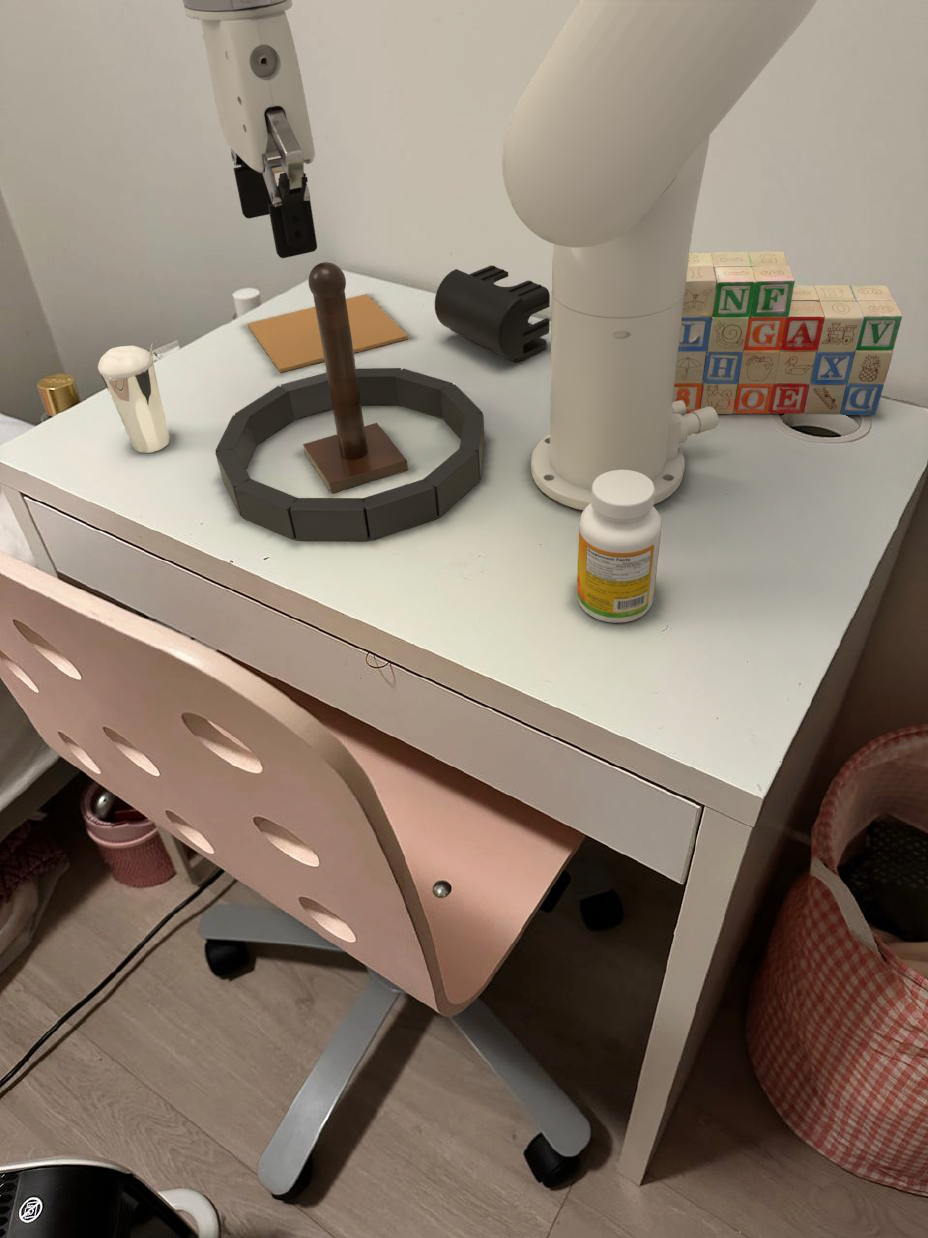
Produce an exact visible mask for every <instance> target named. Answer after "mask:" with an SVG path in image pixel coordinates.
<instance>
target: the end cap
mask: <svg viewBox="0 0 928 1238" xmlns="http://www.w3.org/2000/svg"><path fill="white" fill-rule="evenodd" d="M506 278H509V271H507V270H505V269H503V268H500V267H497V266H496V265H492V264H491V265H488V266H486V267H483V268H480V269H478V270H476V271H473V272H470V273H466V272H464V271H462V270H459V269H457V268H455V269H453V270H451V271H450V272H449V273H447V274H446V275H445V276H444V278H443V279H442V281H441V282H440V283H439V285H438V287H437V290H436V293H435V295H434V296H435V297H434V312H435V315H436V318H437V320H438V321H439V323H440V324H441V325H442V326H444V327H445V328H447V329H449V330H450V331H451V332H453V333H455V334H457V335H460V336H461V337H463V338H465V339H468V340H470V341H471V342H474V343H476V344H477V345H480V346H482V347H484V348H485V349H487V350H490V351H491V352H494V353H496V354H498V355H500V356H502V357H504V358H506V359H508V360H510V361H512V362H521V361H524V360H526V359H528V358H530V357H532V356H534V355H536V354H538V353H540V352H542V351H545V350H546V349H547V348H548V341H547V340H546V339H544V338H542V337H544V336H547V335H548V334H549V333H550V323H551V318H548V317H545V318H544V319H541V320H539V321H536V322H534V323H531V322H529V320H530V318H531V317H532V316H533V315H535V314H537V313H539V312H542V311H543V310H546V309H548V308H550V307H551V306H550V305H551V304H550V301H551V296H550V295H551V293H550V291H549V289H548V288H547V287H545V286H544V285H542V284H539V283H536V282H533V281H532V280H526V281H524V282H521V283H518V284H515V285H511V286H501V285H497V284H496V283H497V282H499V281H501V280H503V279H506Z"/></svg>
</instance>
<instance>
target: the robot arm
mask: <svg viewBox="0 0 928 1238" xmlns="http://www.w3.org/2000/svg"><path fill="white" fill-rule="evenodd" d="M817 1H818V0H578V2H577V4H576V5H575V7H574V9H573V10H572V12H571V14H570V15H569V17H568V18H567V20H566V22H565V24H564V25H563V27H562V28H561V30H560V31H559V33H558V35H557V37H556V38H555V40H554V41H553V43H552V44H551V46H550V48H549V50H548V51H547V53H546V55H545V56H544V58H543V60H542V61H541V63H540V65H539V66H538V68H537V69H536V71H535V72H534V74H533V76H532V78H530V79H531V80H530V81H529V83H528V85H527V86H526V87H525V89H524V91H523V93H522V95H521V96H520V98H519V100H518V102H517V103H516V106H515V108H514V110H513V112H512V114H511V116H510V118H509V122H508V125H507V126H506V127H507V128H506V132H505V135H504V139H503V145H502V154H501V156H502V157H501V162H502V163H501V165H502V176H503V183H504V187H505V188H504V189H505V191H506V195H507V197H508V200H509V202H510V204H511V207H512V208H513V210H514V212H515V214H516V216H517V217H518V218H519V220H520V221H521V222H522V224H524V226H525V227H526V228H527V229H528V230H529V231H530V232H531V233H533V234H534V235H536V237H538V238H540V239H542V240H544V241H545V242H548V243H550V244H553V245H552V260H551V262H552V264H551V266H552V267H551V268H552V269H551V274H552V275H551V304H550V305H551V306H550V307H551V308H550V311H551V315H550V316H551V317H550V323H551V324H550V401H549V403H550V405H549V407H550V408H549V409H550V410H549V414H550V417H549V433H548V434H547V435H545V436H544V437H543V438H541V439H540V440H539V441H538V443H537V444H536V446H535V447H534V449H533V451H532V453H531V458H530V459H531V461H530V466H531V467H530V470H531V476H532V479H533V481H534V483H535V485H536V486H537V487H538V489H540V490H541V492H542V493H544V494H545V495H546V496H548V497H549V498H550V499H552V500H554V501H555V502H557V503H560V504H561V505H564V506H566V507H570V508H573V509H575V510H579V511H584V509H585V508H586V507H587V506H588V505H589V504H590V503H591V495H592V485H593V483H594V481H595V479H596V478H597V477H599V476H600V475H602V474H604V473H606V472H609V471H614V470H631V471H636V472H639V473H641V474H644V475H645V476H647V477H648V478H649V479H650V480H651V481H652V482H653V484H654V488H655V491H654V505H657V504H659V503H661V502H663V501H665V500H666V499H667V498H669V497H670V496H672V495H673V494H674V492H676V490H677V489H679V487H680V486H681V483H682V482H683V479H684V472H685V457H684V454H683V451H682V449H681V448H680V447H679V445H681V444H683V443H685V442H686V441H687V440H688V437H689V436H693V435H698V434H703V433H705V432H707V431H711V430H714V429H716V428H717V427H718V425H719V416H718V415H719V414H717V413H716V411H715V409H714V408H713V407H710V406H708V407H704V408H701V409H698V410H695V411H692V412H690V413H686V405H685V403H684V402H683V401H681V400H679V401H675V402H672V400H673V391H674V382H675V373H676V364H677V355H678V346H679V337H680V329H681V320H682V311H683V302H684V294H685V288H686V279H687V270H688V262H689V254H690V253H691V245H692V239H693V231H694V224H695V219H696V213H697V207H698V202H699V197H700V191H701V187H702V181H703V176H704V172H705V165H706V160H707V156H708V150H709V144H710V137H711V134H712V133H713V132H714V131H715V129H716V128H717V127H718V126H719V124H721V122H722V121H723V119H725V117H726V116H727V115H728V114H729V112H730V111H731V110H732V108H733V107H734V106H735V105H736V104H737V103H738V101H739V100H740V99H741V98H742V96H743V95H744V94H745V92H746V91H747V90H748V89H749V87H750V86H751V85H752V84H753V83H754V81H755V80H756V79H757V78H758V76H759V75H760V74H761V73H762V72H763V70H764V69H765V68H766V67H767V65H768V64H769V63H770V62H771V60H772V59H773V58H774V57H775V56H776V54H777V53H778V52H779V50H781V48H782V47H783V46H784V45H785V43H787V41H789V39H790V38H791V36H793V34H794V33H795V32H796V31H797V29H798V28H799V27H800V25H801V24H802V23H803V22H804V21H805V19H806V18H807V16H808V15H809V14H810V12H811V11H812V9H813V7H814V6H815V4H816V3H817ZM182 3H183V9H184V13H185V16H187V17H188V18H190V19H193V20H195V19H196V20H199V21H200V22H201V23H200V24H201V28H202V39H203V40H204V47H205V52H206V53H205V54H206V58H207V65H208V70H209V75H210V81H211V85H212V90H213V96H214V101H215V105H216V111H217V113H218V119H219V122H220V126H221V130H222V133H223V136H224V139H225V141H226V143H227V145H228V146H229V148H230V155H231V159H232V160H231V161H232V163H233V166H234V167H233V173H234V178H235V183H236V189H237V193H238V199H239V203H240V207H241V213H242V215H243V217H245V218H246V219H248V220H249V219H253V218H258V217H263V216H269V219H270V224H271V225H270V226H271V230H272V235H273V241H274V246H275V252H276V255H278V257H279V258H280V259H287V258H291V257H295V256H300V255H304V254H309V253H314V252H316V251H317V249H318V241H317V235H316V230H315V223H314V222H315V221H314V216H313V208H312V203H311V194H310V189H309V186H308V182H309V181H308V180H309V179H308V177H307V174H306V172H304V171H305V169H304V168H305V166H304V164H305V165H310V164H312V163H313V162H314V159H315V158H316V151H315V143H314V139H313V133H312V128H311V127H312V126H311V122H310V117H309V111H308V106H307V101H306V95H305V90H304V85H303V79H302V74H301V69H300V64H299V60H298V55H297V50H296V46H295V42H294V38H293V37H294V36H293V33H292V30H291V25H290V22H289V19H288V15H287V13H286V11H288V10H289V9H291V8H292V7H293V0H182ZM276 157H277V158H276ZM275 174H279V176H278V177H279V178H278V181H276V175H275ZM277 182H278V183H277Z"/></svg>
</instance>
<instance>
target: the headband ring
mask: <svg viewBox="0 0 928 1238" xmlns="http://www.w3.org/2000/svg"><path fill="white" fill-rule="evenodd" d="M356 372H357V379H358V385H359V392H360V399H361V406H401V407H404V408H407V409H411V410H414V411H418V412H420V413H423V414H426V415H429V416H432V417H435V418H439V419H442V420H443V421H444V423H446V424H447V425H448V426H449V428H450V429H451V430H452V431H453V432H454V433H455V434H456V435H457V437H458V438H459V439H460V445H459V448H458V449H457V450H456V451H455V452H453V454H451V455H450V456H449V457H448V458H447V459H445V460H444V461H443V462H442V463H441V464H439V465H438V466H437V467H436V468H435V469H434V470H432V471H431V472H430V473H429V474H427V475H426V476H425V477H424V478H422V479H419V480H416V481H414V482H409V483H407V484H404V485H400V486H397V487H395V488H391V489H387V490H384V491H381V492H378V493H375V494H371V495H368V496H366V497H297V496H294V495H292V494H290V493H287V492H285V491H282V490H279V489H277V488H275V487H272V486H271V485H267V484H264V483H262V482H260V481H257V480H254V479H252V478H251V477H250V475H249V473H248V471H247V468H248V466H249V463H250V462H251V459H252V457H253V454H254V452H255V450H256V448H257V446H258V445H260V444H261V443H262V442H264V441H266V439H268V438H270V437H271V436H272V435H274V434H276V433H277V432H279V431H280V430H281V429H283V428H284V427H286V426H287V425H289V424H290V423H292V422H293V421H295V420H298V419H302V418H306V417H309V416H312V415H315V414H319V413H322V412H326V411H329V410H330V411H331V410H333V408H332V402H331V396H330V390H329V385H328V379H327V373H326V372H322V373H318V374H315V375H312V376H308V377H305V378H304V377H303V378H300V379H297V380H293V381H289V382H285V383H282V384H280V385H277V386H276V387H273V388H272V389H271V390H269V391H268V392H266V393H264V394H263V395H262V396H260V397H259V398H257V399H255V400H253V401H252V402H251V403H249V404H247V405H246V406H244V407H243V408H241V409H240V410H238V411H236V412H235V413H234V414H233V415H232V416H231V418H230V420H229V423H228V424H227V426H226V428H225V430H224V432H223V433H222V434H223V435H222V436H221V438H220V441H219V442H218V444H217V446H216V448H215V450H214V452H215V457H216V461H217V464H218V467H219V471H220V476H221V478H222V482H223V484H224V486H225V488H226V490H227V492H228V495H229V496H230V498H231V500H232V502H233V504H234V506H235V508H236V510H237V512H238V514H239V516H240V517H242V519H244V520H246V521H248V522H251V523H253V524H255V525H258V526H260V527H263V528H266V529H268V530H270V531H272V532H274V533H277V534H279V535H282V536H284V537H287V538H288V539H291V540H294V541H295V540H296V541H313V542H314V541H315V542H317V541H318V542H319V541H321V542H322V541H326V542H327V541H328V542H330V541H331V542H334V541H335V542H338V541H339V542H340V541H341V542H368V541H369V539H370V540H371V541H373V540H376V539H379V538H382V537H386V536H389V535H392V534H395V533H398V532H401V531H404V530H407V529H410V528H413V527H416V526H420V525H422V524H426V523H428V522H431V521H434V520H437V519H438V518H441V517H442V516H443V515H444V514H445V513H447V511H448V510H450V509H451V508H452V507H453V506H454V505H455V504H456V503H458V502H459V501H460V500H461V499H462V498H463V497H465V496H466V495H467V494H468V493H469V492H470V491H471V490H472V489H473V488H475V486H477V485H478V484H479V483H480V481H481V479H482V472H483V471H482V470H483V462H484V461H483V460H484V454H485V453H484V452H485V446H486V445H485V444H486V440H485V439H486V438H485V418H484V414H483V413H484V412H483V411H482V410H481V408H479V407H478V406H477V405H476V404H475V403H474V402H473V401H472V399H470V397H469V396H467V394H466V393H465V392H463V391H462V389H461V388H460V387H459V386H458V385H457V384H456V383H453V382H452V381H448V380H444V379H441V378H437V377H434V376H431V375H427V374H424V373H421V372H417V371H414V370H410V369H407V368H401V367H373V368H372V367H371V368H367V367H365V368H363V367H362V368H361V367H359V368H357V367H356Z"/></svg>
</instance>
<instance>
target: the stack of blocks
mask: <svg viewBox="0 0 928 1238" xmlns="http://www.w3.org/2000/svg"><path fill="white" fill-rule="evenodd" d="M795 282H796V280H795V278H794V276H793V272H792V270H791V267H790V265H789V264H788V261H787V258H786V254H785V251H783V250H782V251H719V252H718V251H716V252H690V254H689V262H688V270H687V279H686V288H685V294H684V302H683V311H682V320H681V329H680V337H679V346H678V355H677V364H676V373H675V382H674V391H673V400H672V402H675V401H679V400H681V401H683V402H684V403H685V405H686V414H689V413H690V412H692V411H695V410H698V409H701V408H704V407H708V406H710V407H713V408H714V409H715V411H716V413H717V415H733V414H761V415H762V414H763V415H764V414H777V415H778V414H779V415H780V414H782V415H783V414H785V415H786V414H787V415H801V414H804V415H836V416H837V415H841V416H876V413H877V411H878V407H879V405H880V399H881V396H882V393H883V390H884V386H885V383H886V380H887V377H888V373H889V370H890V366H891V362H892V360H893V354H894V349H895V345H896V341H897V337H898V334H899V331H900V326H901V323H902V319H903V315H902V313H901V311H900V309H899V307H898V304H897V302H896V301H895V300H894V297H893V295H892V293H891V292H890V290H889V288H888V286H887V285H886V284H879V285H873V284H872V285H849V284H831V285H830V284H819V285H811V284H802V285H798V284H797V285H795Z"/></svg>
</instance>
